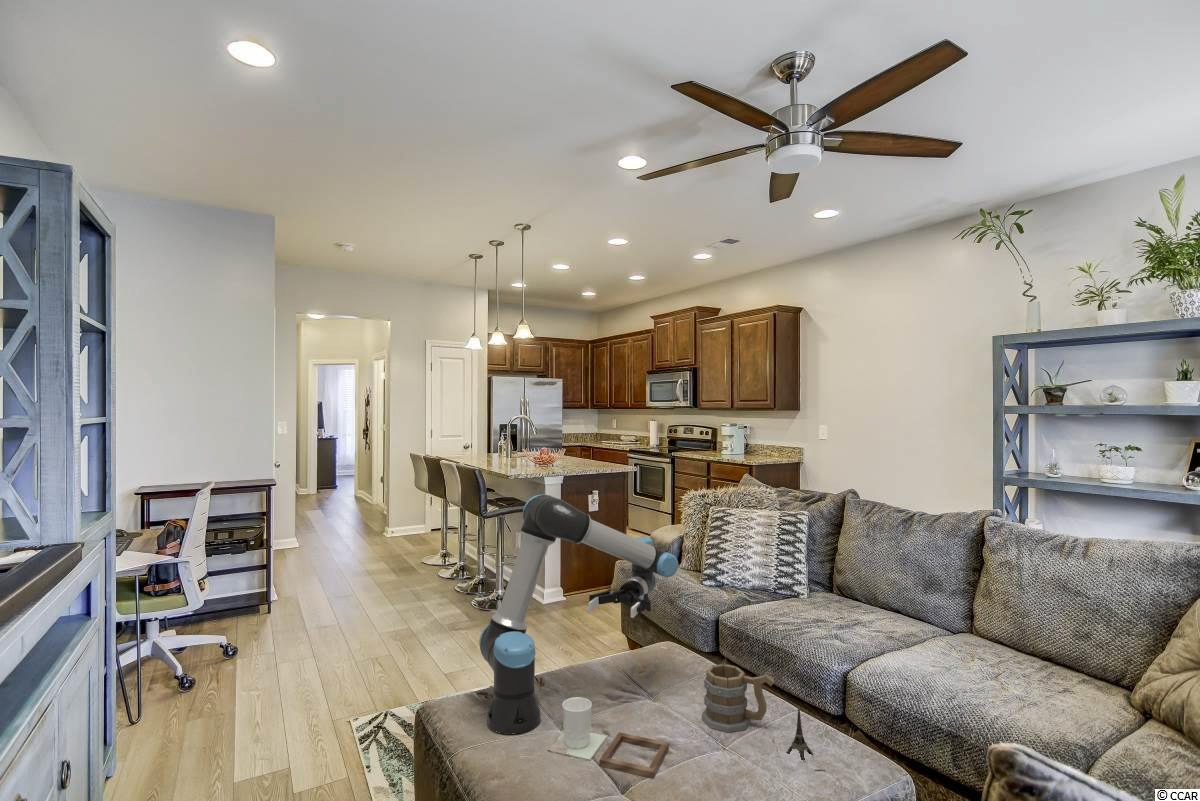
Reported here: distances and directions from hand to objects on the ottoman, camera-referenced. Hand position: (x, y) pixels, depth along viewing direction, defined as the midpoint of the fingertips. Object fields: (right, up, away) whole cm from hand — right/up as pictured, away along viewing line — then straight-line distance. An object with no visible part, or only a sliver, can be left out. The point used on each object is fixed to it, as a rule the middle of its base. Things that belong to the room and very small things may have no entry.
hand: (610, 610), depth 173 cm
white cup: (-9, -29, -18) cm, 35 cm away
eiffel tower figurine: (+48, -30, -22) cm, 61 cm away
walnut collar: (+6, -29, -24) cm, 38 cm away
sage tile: (-9, -29, -18) cm, 35 cm away
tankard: (+36, -30, -7) cm, 48 cm away
